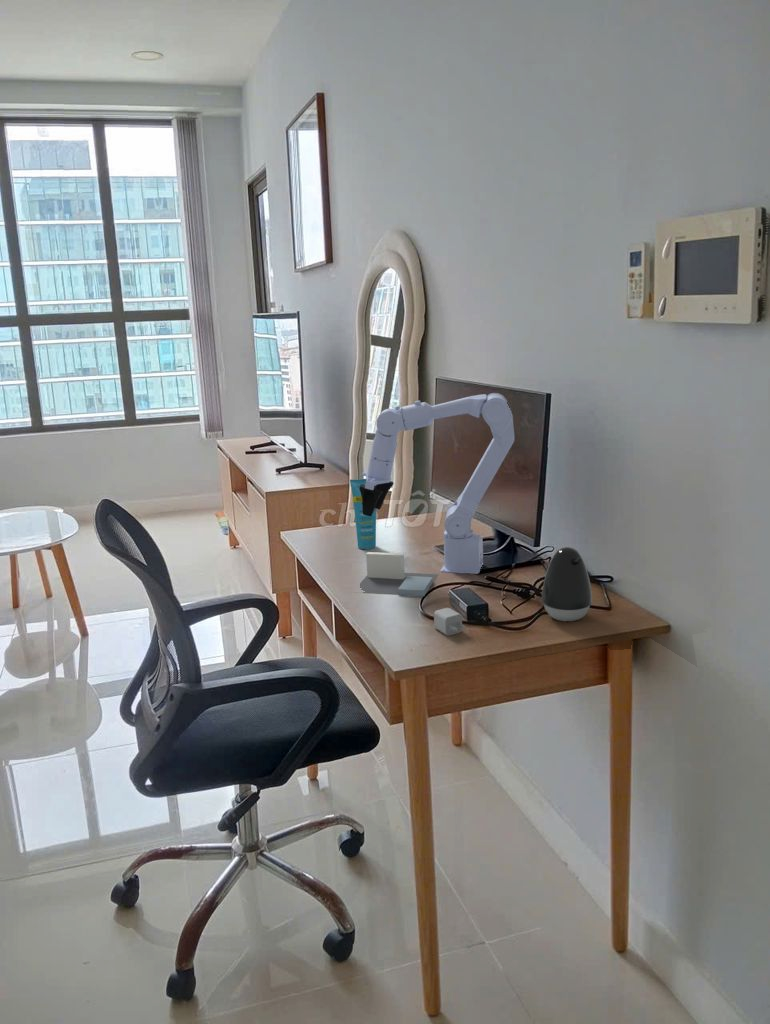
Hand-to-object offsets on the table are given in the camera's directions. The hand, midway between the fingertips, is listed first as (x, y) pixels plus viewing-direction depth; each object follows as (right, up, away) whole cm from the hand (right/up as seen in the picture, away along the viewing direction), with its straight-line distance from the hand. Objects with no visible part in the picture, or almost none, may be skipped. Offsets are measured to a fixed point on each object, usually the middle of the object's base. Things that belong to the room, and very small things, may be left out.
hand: (371, 511), depth 208 cm
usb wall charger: (+17, -25, -36) cm, 47 cm away
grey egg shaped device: (+41, -22, -31) cm, 56 cm away
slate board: (+10, -18, -12) cm, 24 cm away
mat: (+6, -17, -7) cm, 20 cm away
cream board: (+4, -16, -3) cm, 17 cm away
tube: (-1, -10, +22) cm, 24 cm away
